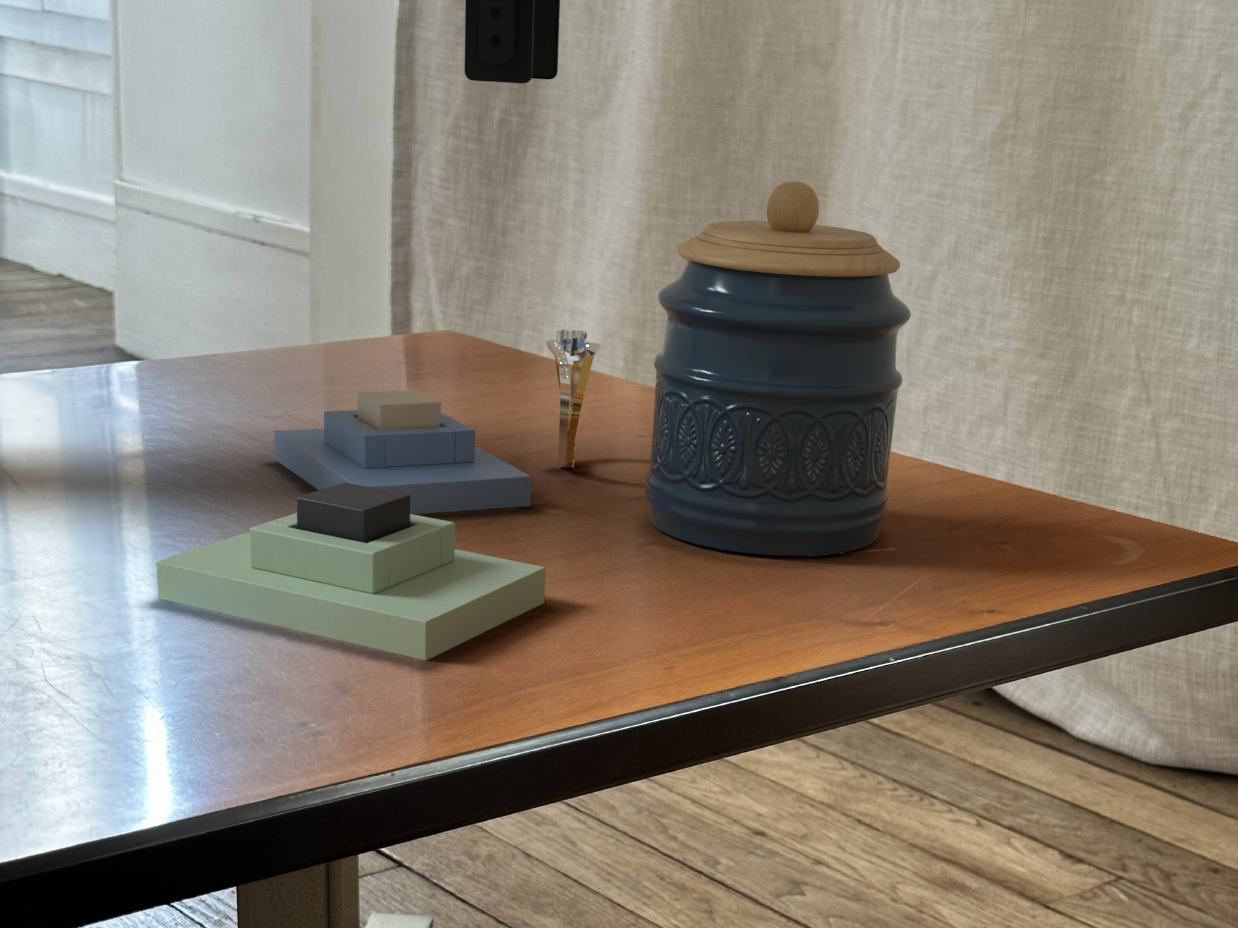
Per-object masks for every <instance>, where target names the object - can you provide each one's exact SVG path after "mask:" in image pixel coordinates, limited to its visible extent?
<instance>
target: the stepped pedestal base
mask: <svg viewBox="0 0 1238 928" xmlns="http://www.w3.org/2000/svg"><path fill="white" fill-rule="evenodd" d="M155 564H156V567H155V568H156V585H157V599H158V600H161V601H167V602H171V603H175V604H179V605H183V606H188V607H191V608H196V609H201V610H205V611H209V612H212V613H213V612H214V613H218V614H221V615H228V616H230V617H235V618H239V619H244V620H249V621H251V622H252V621H253V622H257V623H261V624H265V625H269V626H274V627H279V628H283V629H286V630H291V631H296V632H300V633H304V634H309V635H312V636H318V637H321V638H325V639H329V640H335V641H338V642H342V643H347V644H352V645H355V646H360V647H364V648H369V649H373V650H376V651H381V652H386V653H390V654H394V655H400V656H404V657H406V658H407V657H408V658H411V659H417V660H420V661H425V662H426V661H429V660H431V659H433V658H435V657H437V656H439V655H441V654H443V653H445V652H447V651H449V650H451V649H453V648H455V647H457V646H460V645H461V644H463V643H465V642H468V641H469V640H472V639H474V638H476V637H478V636H479V635H482V634H484V633H485V632H488V631H489V630H492V629H494V628H496V627H498V626H500V625H502V624H504V623H506V622H508V621H510V620H513V619H515V618H516V617H519V616H520V615H522V614H524V613H527V612H528V611H531V610H533V609H535V608H537V607H538V606H541V605H543V604H545V599H546V598H545V595H546V575H547V574H546V572H547V571H546V570H547V568H546V566H541V565H537V564H536V565H535V564H531V563H526V562H523V561H518V560H517V561H516V560H511V559H506V558H502V557H501V558H500V557H497V556H492V555H487V554H481V553H477V552H472V551H467V550H461V549H457V548H456V523H455V522H454V521H448V520H443V519H439V518H433V517H429V516H428V517H427V516H423V515H413V514H410V528H407V529H404V530H401V531H399V532H396V533H393V534H391V535H388V536H385V537H383V538H380V539H377V540H374V541H372V542H369V543H363V542H358V541H353V540H348V539H343V538H338V537H333V536H328V535H323V534H319V533H314V532H309V531H304V530H299V529H297V512H295V513H292V514H290V515H285V516H283V517H280V518H277V519H273V520H271V521H267V522H265V523H261V524H258V525H255V526H252V527H249V531H247V532H244V533H240V534H238V535H235V536H232V537H227V538H225V539H222V540H218V541H216V542H213V543H210V544H208V545H204V546H201V547H197V548H195V549H192V550H189V551H186V552H182V553H180V554H177V555H173V556H170V557H168V558H167V557H166V558H165V559H164V558H163V559H162V560H159V561H156V562H155Z"/></svg>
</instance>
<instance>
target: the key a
mask: <svg viewBox="0 0 1238 928" xmlns="http://www.w3.org/2000/svg"><path fill="white" fill-rule="evenodd" d="M296 513H297V529H299V530H304V531H309V532H314V533H319V534H323V535H328V536H333V537H338V538H343V539H348V540H353V541H358V542H363V543H369V542H372V541H374V540H377V539H380V538H383V537H385V536H388V535H391V534H393V533H396V532H399V531H401V530H404V529H407V528H410V495H408V494H403V493H398V492H393V491H387V490H382V489H377V488H372V487H366V486H361V485H356V484H350V483H345V482H344V483H341V484H338V485H335V486H331V487H328V488H325V489H322V490H316V491H313V492H309V493H306V494H303V495H299V496H297V497H296Z"/></svg>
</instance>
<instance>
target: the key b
mask: <svg viewBox="0 0 1238 928" xmlns="http://www.w3.org/2000/svg"><path fill="white" fill-rule="evenodd" d="M356 396H357V400H356V401H357V404H356V405H357V410H358V419H359V420H360V421H362V422H364V423H366V424H367V425H369V426H371V427H373V428H374V429H376V430H390V429H411V428H431V427H440V426H441V413H442V403H441V401H439V400H437V399H435V398H433V397H431V396H430V395H427V394H426V393H423V392H421V391H419V390H417V389H405V390H404V389H402V390H399V389H398V390H375V391H358V392H357V395H356Z"/></svg>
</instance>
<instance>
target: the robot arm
mask: <svg viewBox="0 0 1238 928" xmlns="http://www.w3.org/2000/svg"><path fill="white" fill-rule="evenodd" d="M464 8H465V11H464V12H465V13H464V15H465V16H464V19H465V20H464V21H465V22H464V30H465V31H464V75H465V77H466V79H468V80H469V81H472V82H473V81H474V82H490V83H508V84H527V83H529V82H530V81H531V80H532V79H533V80H547V81H548V80H554V79H555V78H556V77H557V76H558V71H559V42H560V40H559V39H560V15H561V14H560V11H561V0H465V7H464Z"/></svg>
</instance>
